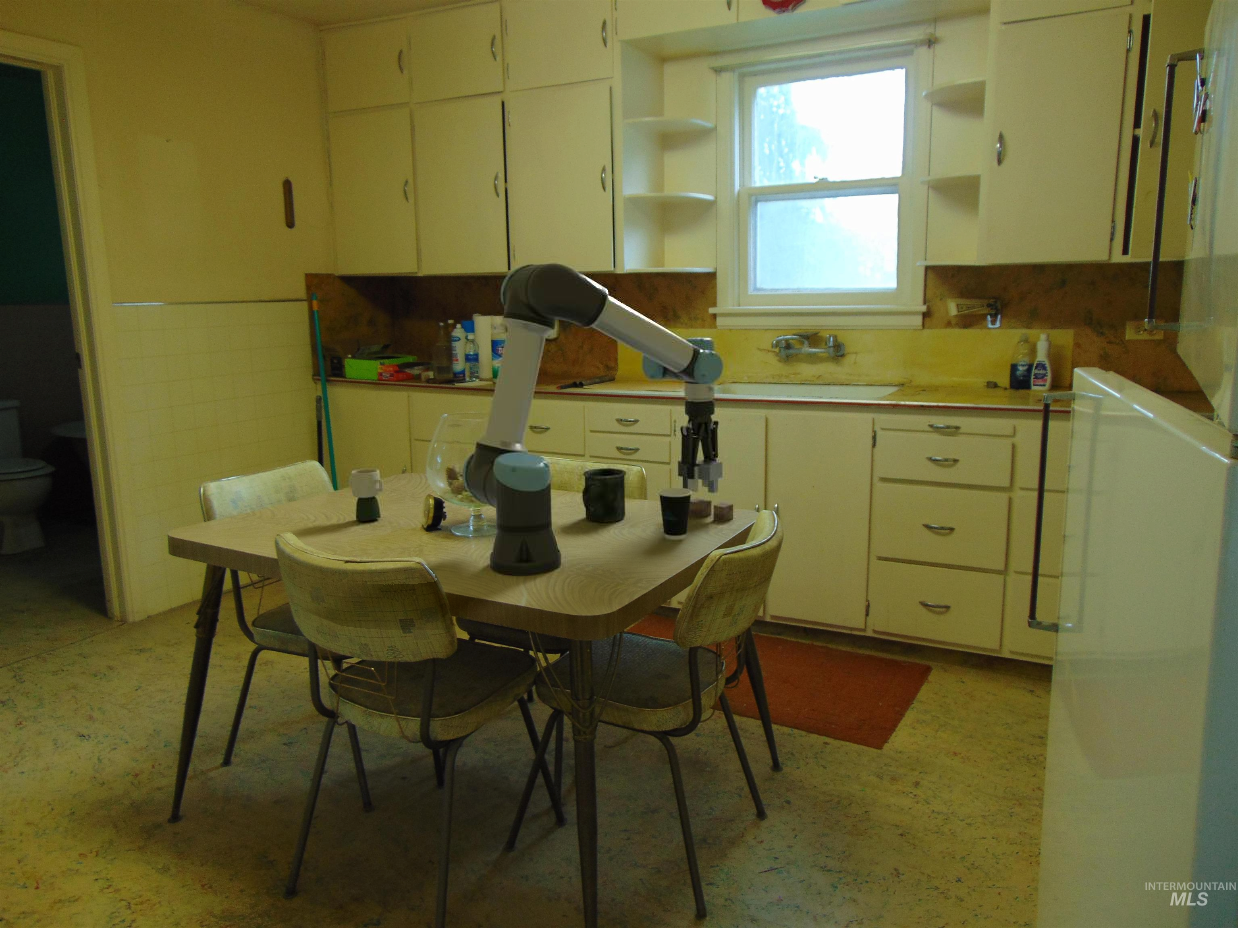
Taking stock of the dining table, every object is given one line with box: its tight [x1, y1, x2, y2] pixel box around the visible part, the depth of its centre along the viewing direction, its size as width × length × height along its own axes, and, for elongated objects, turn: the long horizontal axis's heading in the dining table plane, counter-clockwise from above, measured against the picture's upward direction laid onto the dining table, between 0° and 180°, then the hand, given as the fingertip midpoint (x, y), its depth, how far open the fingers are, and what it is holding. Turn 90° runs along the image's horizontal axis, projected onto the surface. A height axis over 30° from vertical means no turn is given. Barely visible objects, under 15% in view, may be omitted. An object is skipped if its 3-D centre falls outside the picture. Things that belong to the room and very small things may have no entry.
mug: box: [581, 467, 627, 523], centre depth 227 cm, size 11×15×12 cm
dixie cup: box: [657, 487, 693, 541], centre depth 210 cm, size 8×8×11 cm
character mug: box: [348, 468, 384, 522], centre depth 231 cm, size 11×7×13 cm, turn 64°
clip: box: [677, 458, 723, 494], centre depth 230 cm, size 10×6×8 cm, turn 49°
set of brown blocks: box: [689, 497, 734, 522], centre depth 231 cm, size 4×18×4 cm, turn 49°
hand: (700, 488), depth 230 cm, fingers closed on clip, 5 cm apart
